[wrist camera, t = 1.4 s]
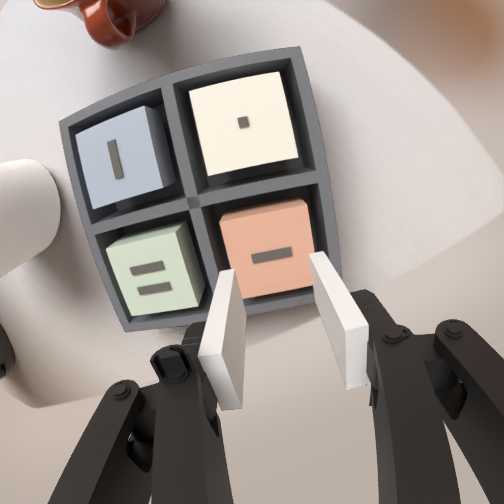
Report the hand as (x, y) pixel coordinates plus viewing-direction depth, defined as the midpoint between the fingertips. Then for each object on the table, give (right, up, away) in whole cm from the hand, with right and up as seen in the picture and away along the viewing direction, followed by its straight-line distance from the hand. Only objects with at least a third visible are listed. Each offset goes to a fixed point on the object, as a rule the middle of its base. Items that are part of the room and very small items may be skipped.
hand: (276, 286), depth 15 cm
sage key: (-8, +1, +8) cm, 12 cm away
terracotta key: (0, +3, +8) cm, 8 cm away
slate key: (-10, +9, +5) cm, 15 cm away
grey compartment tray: (-5, +7, +9) cm, 12 cm away
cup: (-24, +7, +9) cm, 27 cm away
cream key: (-2, +11, +5) cm, 12 cm away
